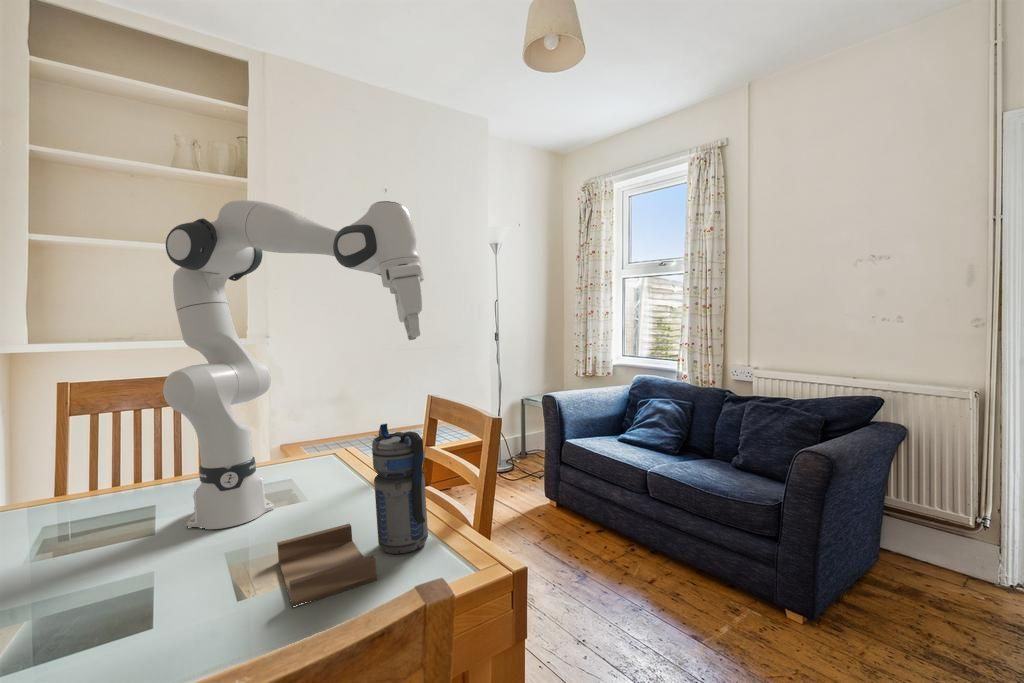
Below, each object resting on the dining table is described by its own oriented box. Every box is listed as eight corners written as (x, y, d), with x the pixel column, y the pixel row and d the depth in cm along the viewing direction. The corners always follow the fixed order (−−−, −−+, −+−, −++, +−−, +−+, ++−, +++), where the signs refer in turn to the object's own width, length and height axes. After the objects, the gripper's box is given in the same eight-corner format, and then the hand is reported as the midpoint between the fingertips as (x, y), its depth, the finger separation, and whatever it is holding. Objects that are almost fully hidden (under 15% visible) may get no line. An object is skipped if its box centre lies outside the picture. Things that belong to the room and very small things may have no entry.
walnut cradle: (278, 562, 95) (277, 542, 95) (350, 541, 102) (349, 523, 102) (292, 608, 79) (290, 584, 79) (376, 580, 86) (375, 558, 86)
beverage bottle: (405, 565, 91) (397, 436, 90) (367, 546, 100) (359, 428, 99) (446, 544, 99) (438, 425, 98) (406, 529, 107) (399, 418, 106)
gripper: (386, 286, 113) (397, 343, 113) (388, 268, 93) (402, 337, 93) (413, 282, 114) (424, 338, 114) (421, 263, 95) (434, 332, 95)
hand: (414, 338), depth 103 cm, fingers open, 8 cm apart
